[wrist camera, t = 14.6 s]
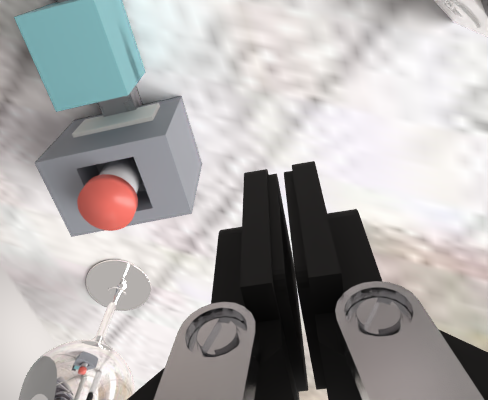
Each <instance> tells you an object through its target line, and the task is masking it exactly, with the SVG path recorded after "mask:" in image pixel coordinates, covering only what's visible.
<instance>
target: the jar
mask: <svg viewBox="0 0 488 400" xmlns="http://www.w3.org/2000/svg"><path fill="white" fill-rule="evenodd" d="M434 1H435V2H436V3H437V4H438V5H439V6H440V8H441V9H442V10H443V11H444V12H445V13H446V14H447V15H448V16H449V17H450V19H451V20H452V21H453V22H454V23H456V24H458V25H460V26H463V27H465V28H467V29H470V30H472V31H474V32H476V33H479V34H481V35H483V36H485V37H488V0H434Z"/></svg>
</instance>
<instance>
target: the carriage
mask: <svg viewBox="0 0 488 400" xmlns="http://www.w3.org/2000/svg"><path fill="white" fill-rule="evenodd" d="M14 18H15V21H16V23H17V25H18V27H19V29H20V32H21V34H22V36H23V38H24V41H25V43H26V45H27V47H28V50H29V52H30V54H31V56H32V59H33V61H34V63H35V65H36V68H37V70H38V72H39V74H40V77H41V79H42V81H43V83H44V86H45V88H46V90H47V92H48V95H49V97H50V99H51V101H52V104H53V106H54V108H55V110H56V112H57V111H62V110H66V109H71V108H75V107H79V106H84V105H88V104H93V103H97V102H101V101H106V100H110V99H114V98H119V97H123V96H128V95H129V94H130V92H131V91H132V89H133V88H134V87H135V85H136V84H137V83H138V81H139V80H140V79H141V77H142V76H143V75H144V73H145V69H144V66H143V63H142V60H141V57H140V54H139V51H138V48H137V45H136V42H135V39H134V36H133V33H132V30H131V27H130V24H129V21H128V18H127V15H126V12H125V9H124V6H123V3H122V0H68V1H64V2H60V3H58V2H56V3H53V4H49V5H46V6H44V7H41V8H38V9H35V10H32V11H30V12H27V13H24V14H21V15H18V16H16V17H14Z"/></svg>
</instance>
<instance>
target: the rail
mask: <svg viewBox="0 0 488 400" xmlns="http://www.w3.org/2000/svg"><path fill="white" fill-rule="evenodd" d="M64 1H68V0H58V3H60V2H64ZM98 104H99V107H100V109H101V112H102V114H103V117H106V116H110V115H115V114H119V113H124V112H128V111H133V110H136V109H137V108H138V107H142V105H143V104H142V101H141V98H140V96H139V93H138V90H137V87H136V85H135V87H134V88H133V89H132V91H131V92H130V94H129V95H128V96H123V97H119V98H114V99H110V100H106V101H101V102H98Z"/></svg>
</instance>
